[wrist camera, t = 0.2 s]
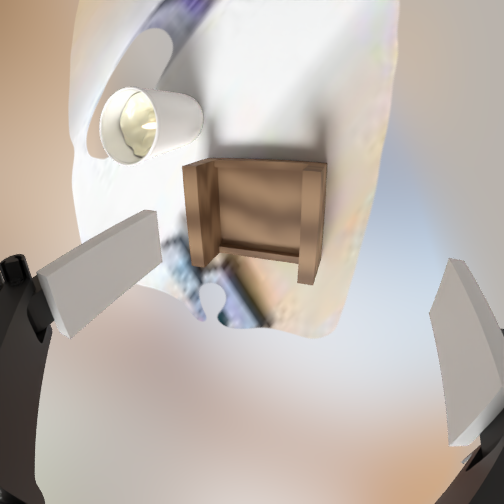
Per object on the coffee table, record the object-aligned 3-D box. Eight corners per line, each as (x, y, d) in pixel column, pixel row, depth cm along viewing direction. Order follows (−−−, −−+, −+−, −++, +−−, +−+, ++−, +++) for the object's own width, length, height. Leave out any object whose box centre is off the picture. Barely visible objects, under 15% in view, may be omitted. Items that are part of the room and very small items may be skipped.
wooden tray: (207, 158, 41) (182, 166, 35) (327, 163, 36) (321, 171, 30) (213, 245, 47) (192, 265, 41) (320, 260, 42) (312, 285, 36)
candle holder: (183, 164, 43) (131, 182, 32) (144, 125, 42) (89, 135, 32) (221, 115, 37) (172, 117, 27) (177, 77, 37) (122, 72, 27)
